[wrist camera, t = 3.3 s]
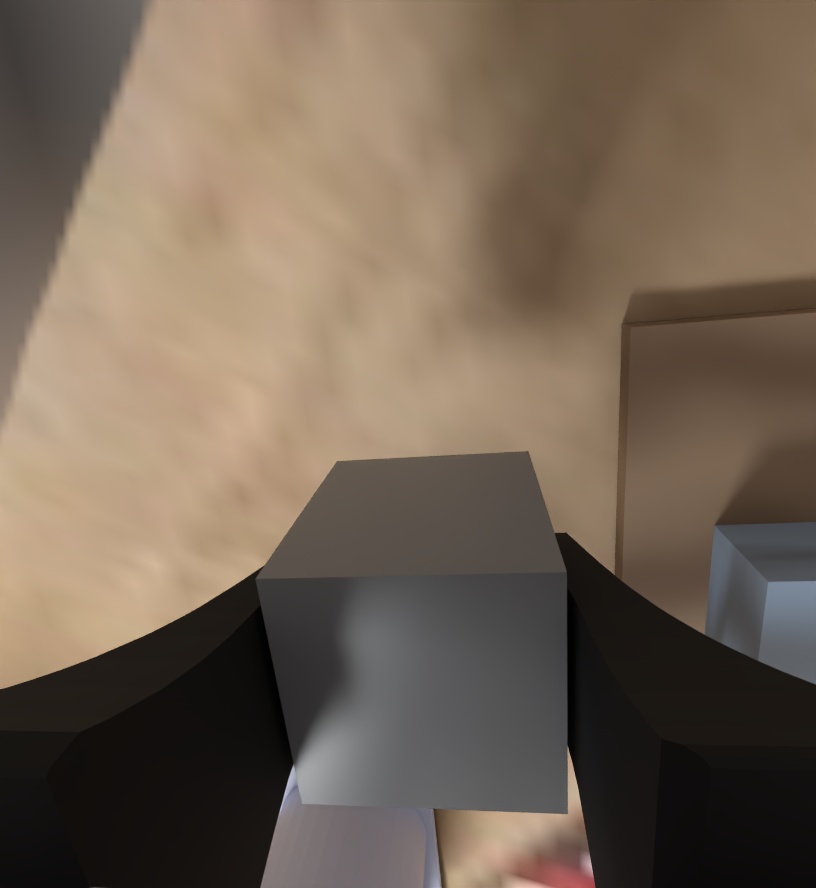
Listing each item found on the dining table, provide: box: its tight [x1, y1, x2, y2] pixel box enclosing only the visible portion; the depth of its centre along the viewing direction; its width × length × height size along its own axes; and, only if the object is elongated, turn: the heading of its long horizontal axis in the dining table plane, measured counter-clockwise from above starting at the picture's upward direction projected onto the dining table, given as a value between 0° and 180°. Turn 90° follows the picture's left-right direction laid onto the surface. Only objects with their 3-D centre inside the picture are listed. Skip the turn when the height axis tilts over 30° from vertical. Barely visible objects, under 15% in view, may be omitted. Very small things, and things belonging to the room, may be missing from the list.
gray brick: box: [255, 451, 568, 814], centre depth 10 cm, size 4×4×5 cm
